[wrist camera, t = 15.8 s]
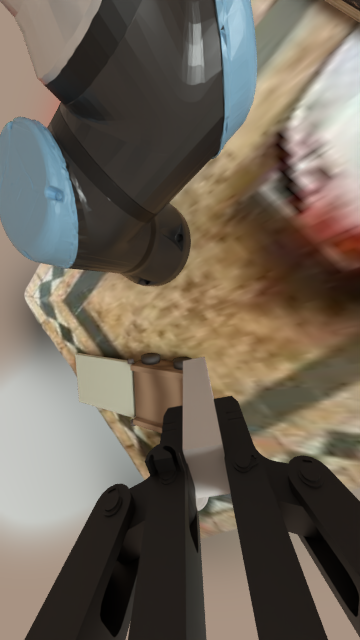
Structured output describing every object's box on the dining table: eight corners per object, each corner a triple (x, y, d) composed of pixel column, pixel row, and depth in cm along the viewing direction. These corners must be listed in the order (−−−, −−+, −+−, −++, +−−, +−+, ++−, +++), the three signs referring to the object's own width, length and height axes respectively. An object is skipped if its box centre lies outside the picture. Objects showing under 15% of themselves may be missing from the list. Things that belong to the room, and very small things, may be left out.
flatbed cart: (199, 358, 38) (189, 367, 33) (199, 430, 40) (190, 448, 35) (140, 351, 43) (124, 358, 39) (142, 414, 45) (128, 428, 41)
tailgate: (131, 363, 40) (75, 354, 47) (133, 417, 42) (79, 401, 48) (135, 361, 41) (79, 352, 48) (137, 414, 43) (83, 399, 50)
